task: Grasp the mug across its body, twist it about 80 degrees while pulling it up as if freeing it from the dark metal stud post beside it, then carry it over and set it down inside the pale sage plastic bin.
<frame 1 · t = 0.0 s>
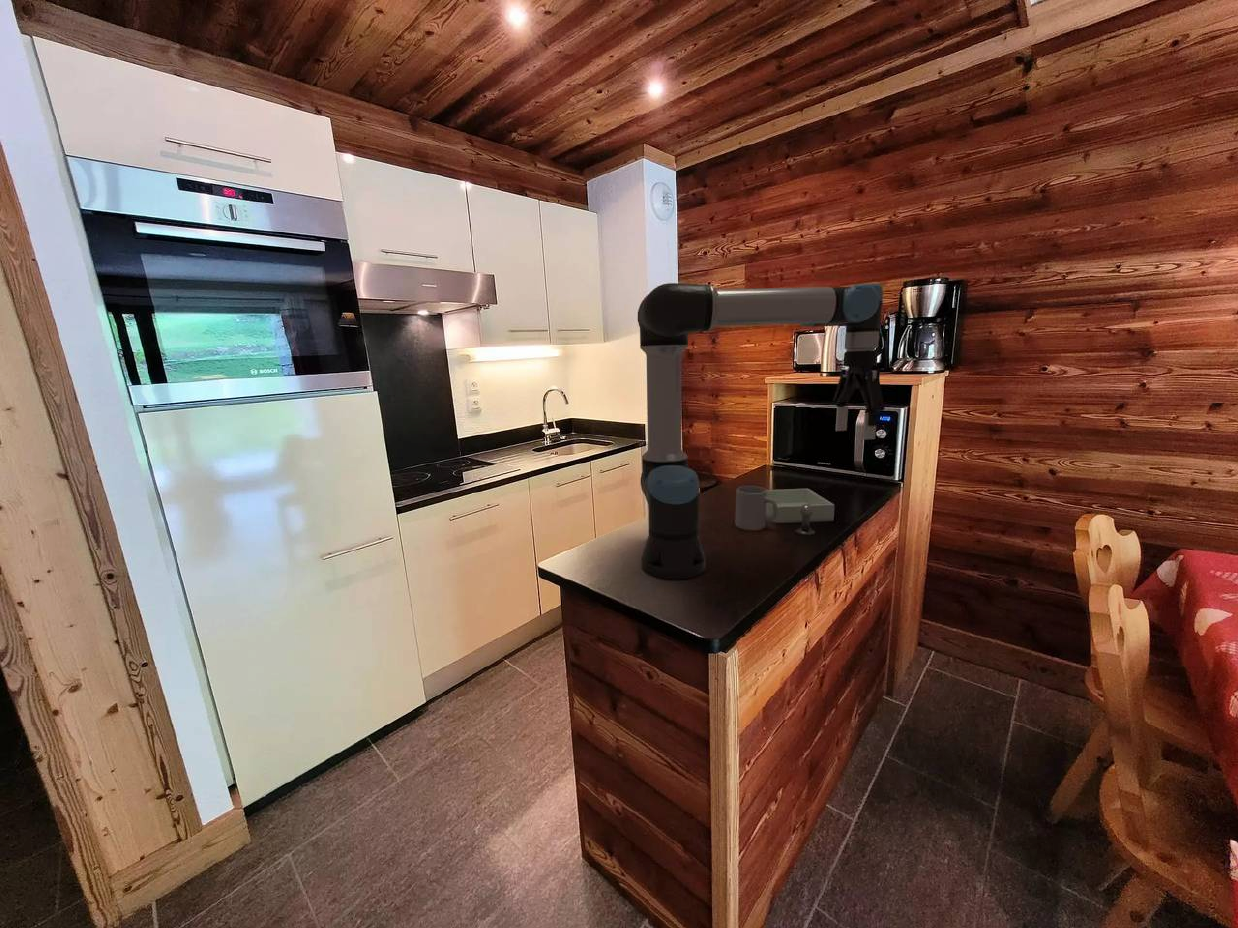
hand: (854, 434, 124), 28 cm above the worktop, fingers open, 13 cm apart
bin: (791, 512, 151), on the worktop
mug: (755, 527, 139), on the worktop
stud post: (805, 532, 134), on the worktop
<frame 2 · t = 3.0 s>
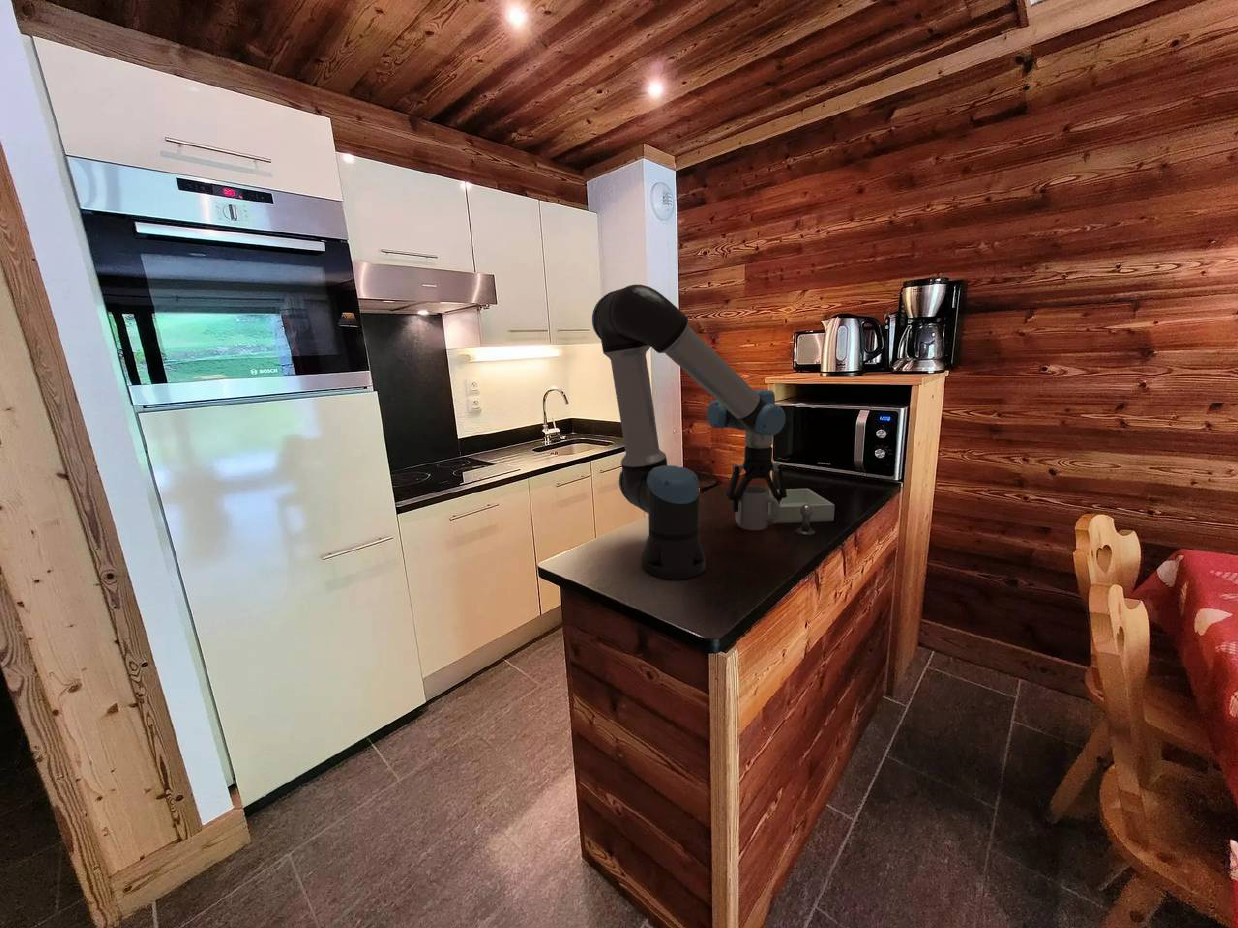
hand: (755, 521, 139), 2 cm above the worktop, fingers closed on mug, 9 cm apart
mug: (757, 527, 139), on the worktop, touching gripper
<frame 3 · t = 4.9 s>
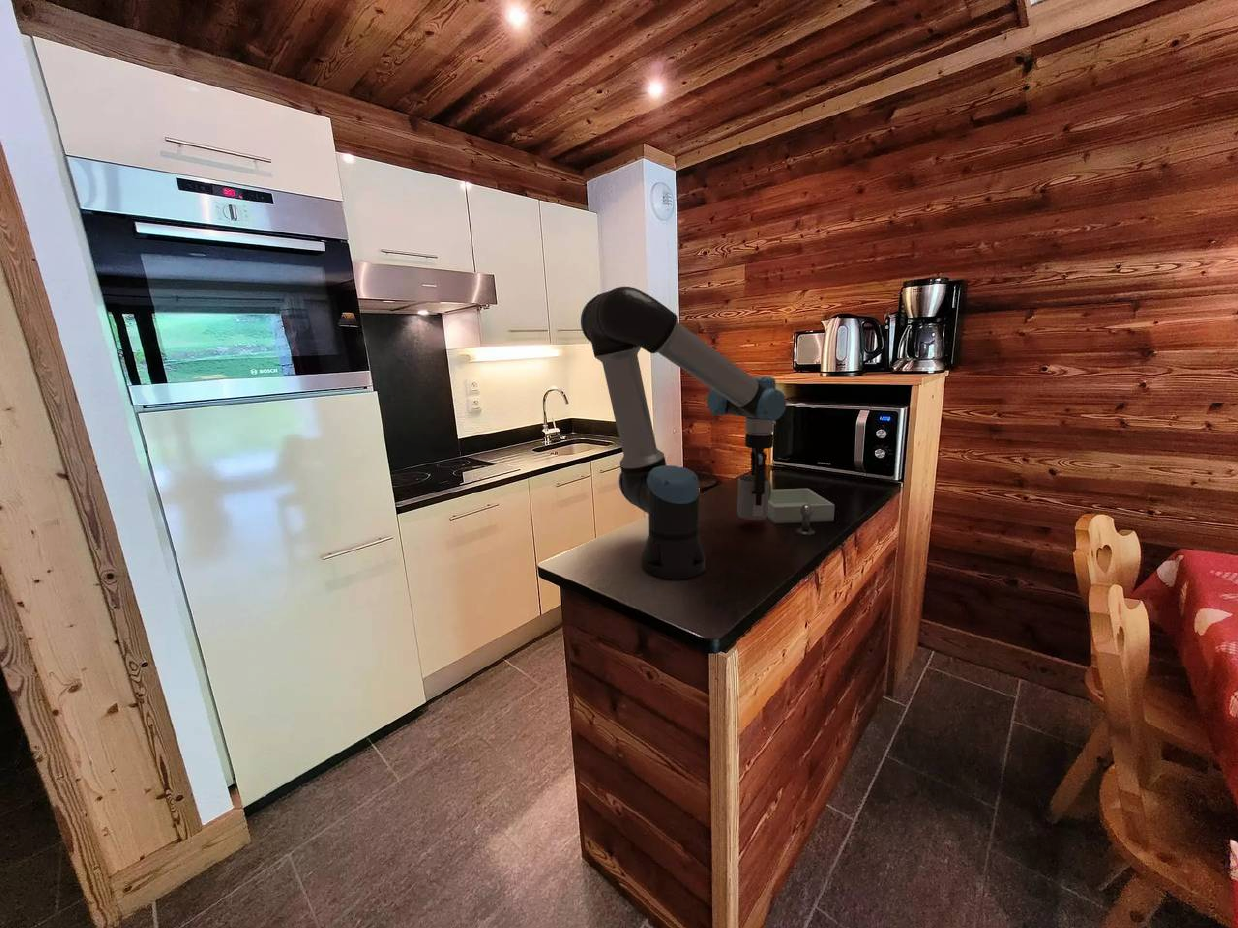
hand: (756, 509, 138), 5 cm above the worktop, fingers closed on mug, 9 cm apart
mug: (755, 514, 139), point 3 cm above the worktop, touching gripper
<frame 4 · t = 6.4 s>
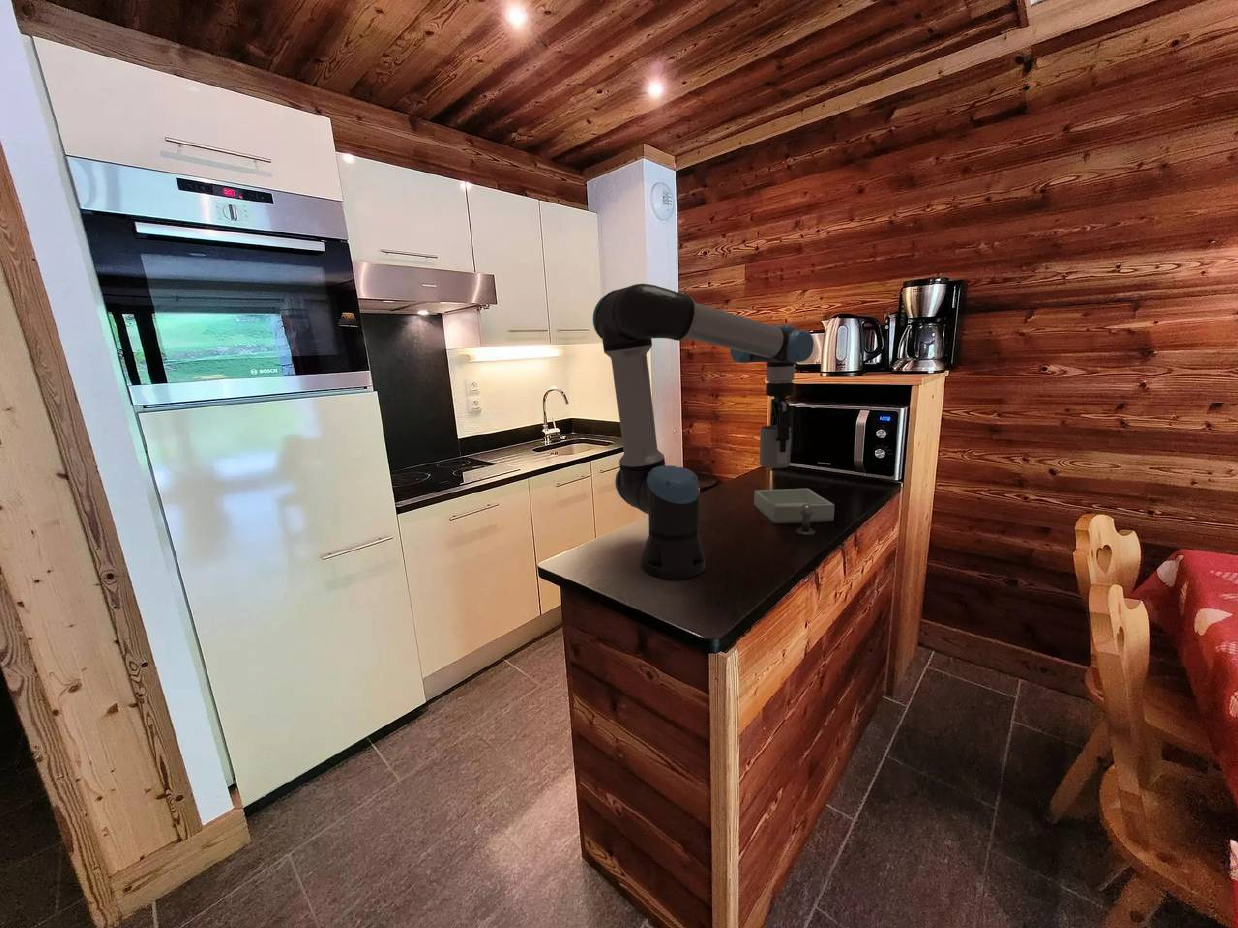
hand: (778, 458, 141), 19 cm above the worktop, fingers closed on mug, 9 cm apart
mug: (778, 464, 142), point 17 cm above the worktop, touching gripper
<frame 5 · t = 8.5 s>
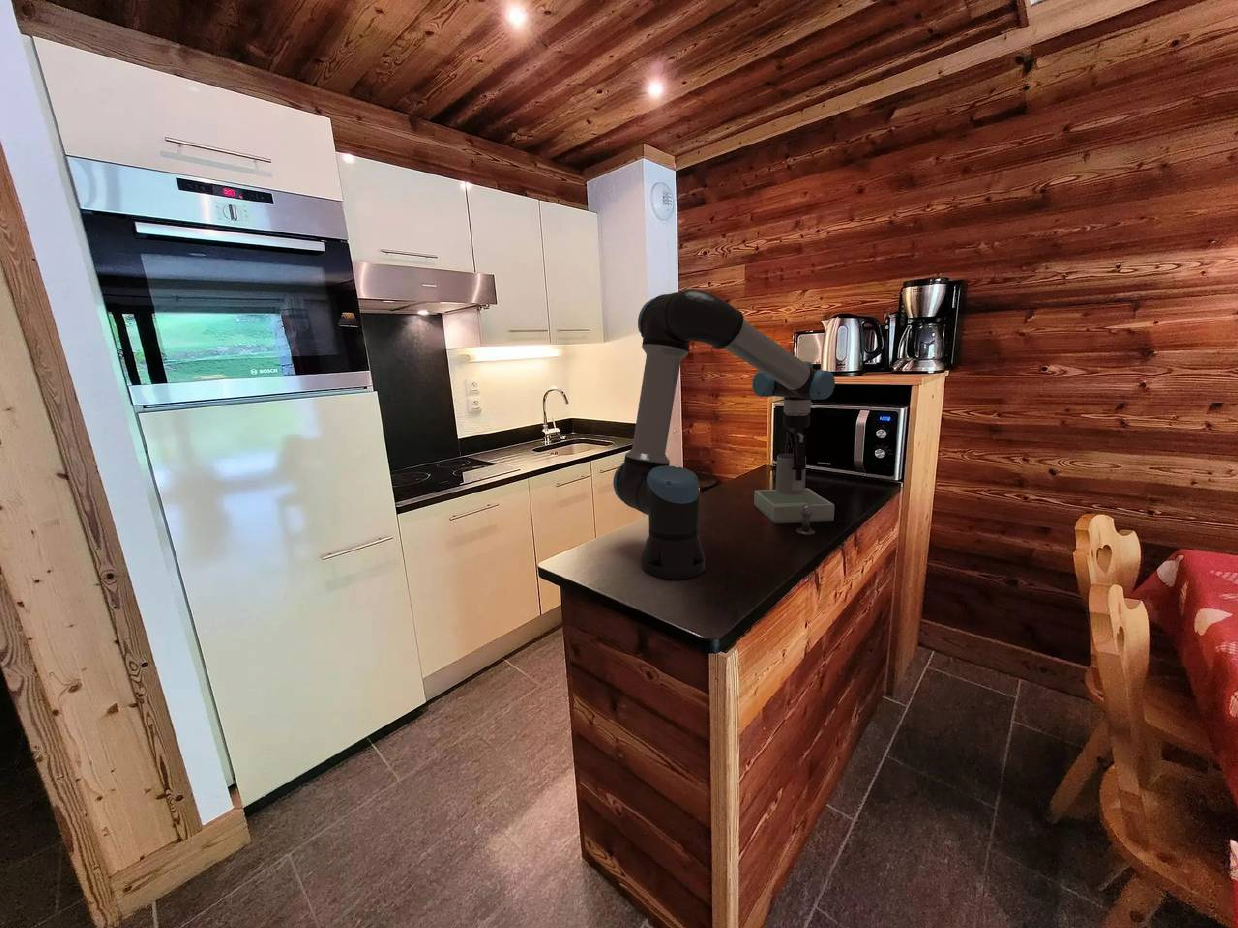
hand: (793, 485, 149), 9 cm above the worktop, fingers closed on mug, 9 cm apart
mug: (792, 490, 150), point 7 cm above the worktop, touching gripper
when the fingers open (5 cm above the worktop, at t = 9.8 s): mug drops 2 cm, resting on bin.
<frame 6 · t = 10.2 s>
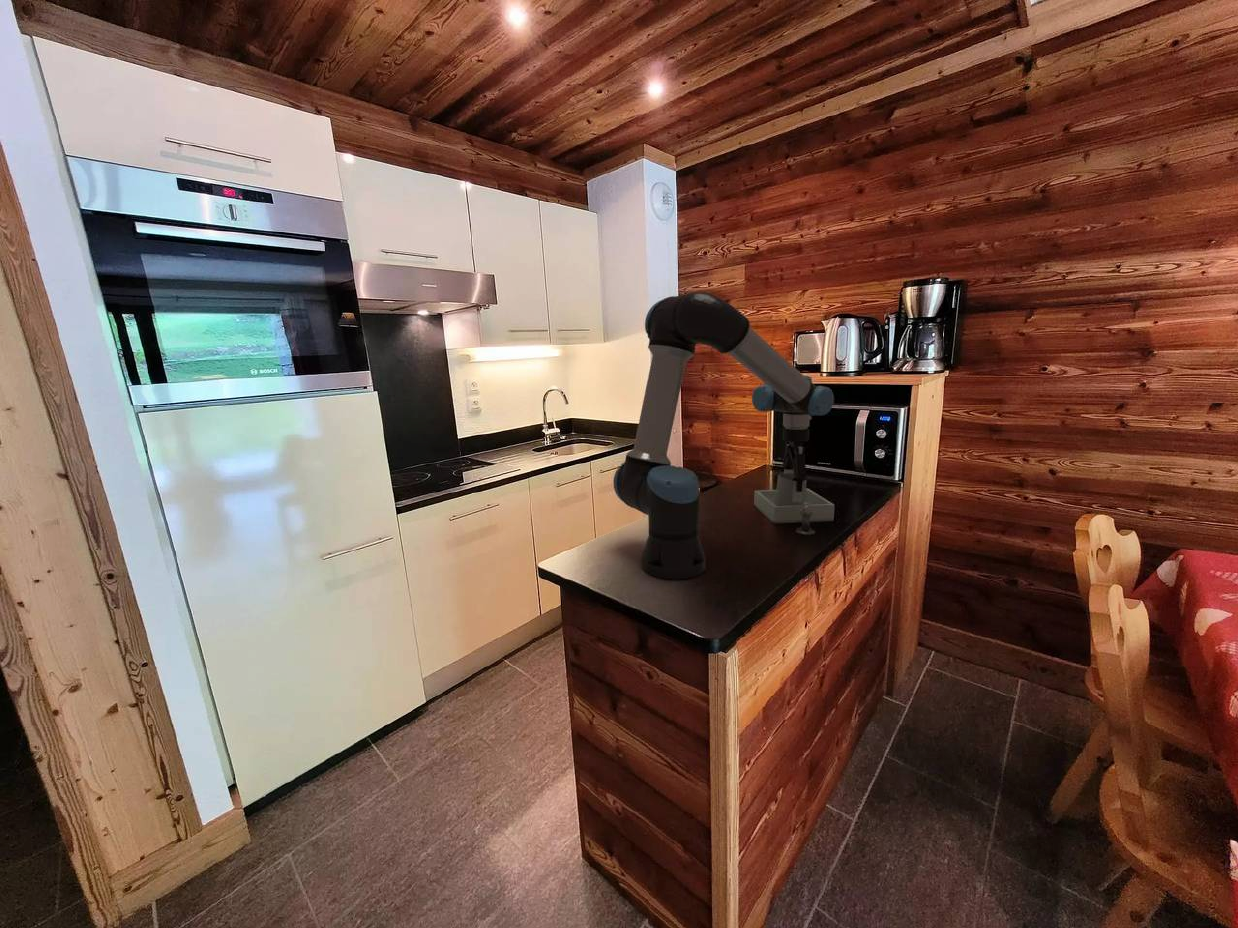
hand: (792, 495, 149), 6 cm above the worktop, fingers open, 13 cm apart
mug: (791, 509, 151), point 1 cm above the worktop, touching bin
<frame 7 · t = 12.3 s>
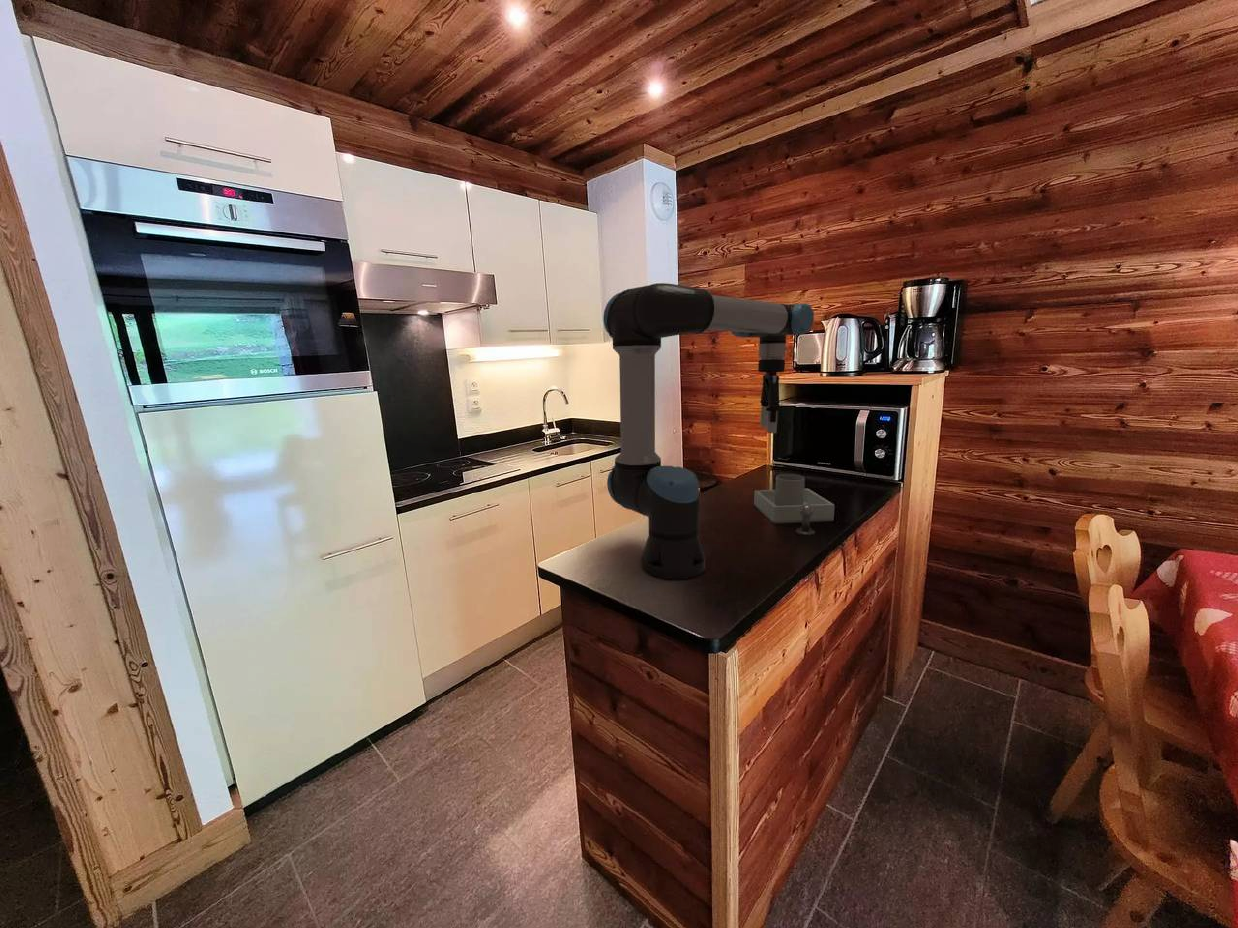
hand: (767, 430, 146), 26 cm above the worktop, fingers open, 13 cm apart
nothing on the worktop moved.
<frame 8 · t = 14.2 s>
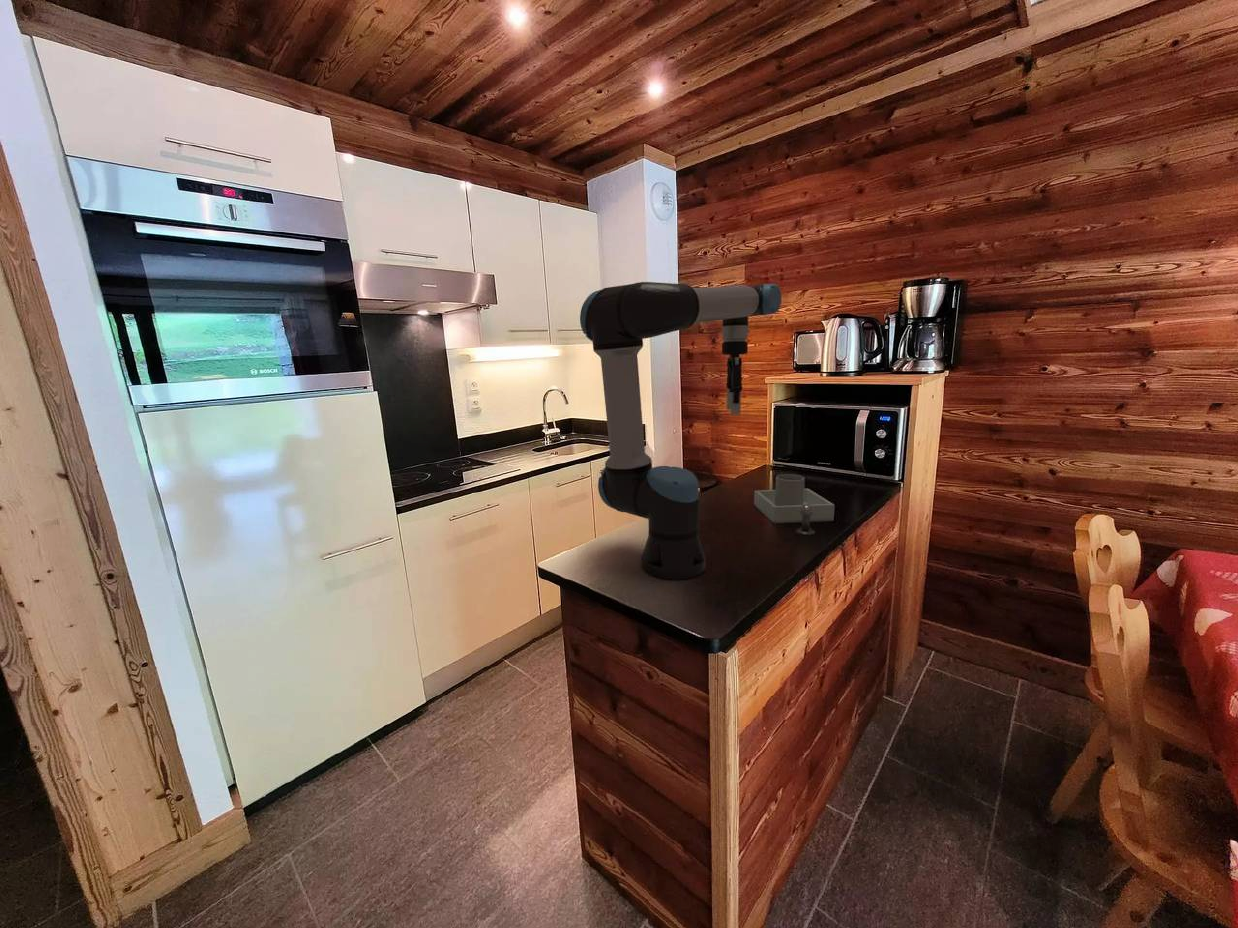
hand: (733, 412, 148), 32 cm above the worktop, fingers open, 13 cm apart
nothing on the worktop moved.
at the end: mug inside the target area on the bin (0.9 cm from its centre), point 0.4 cm above the bin's base; mug tilted 0°; the gripper is holding nothing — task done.
